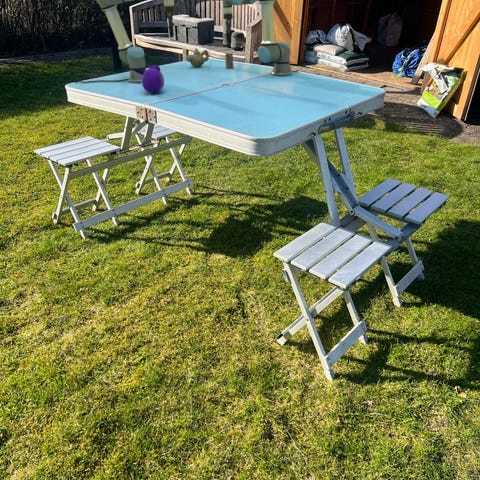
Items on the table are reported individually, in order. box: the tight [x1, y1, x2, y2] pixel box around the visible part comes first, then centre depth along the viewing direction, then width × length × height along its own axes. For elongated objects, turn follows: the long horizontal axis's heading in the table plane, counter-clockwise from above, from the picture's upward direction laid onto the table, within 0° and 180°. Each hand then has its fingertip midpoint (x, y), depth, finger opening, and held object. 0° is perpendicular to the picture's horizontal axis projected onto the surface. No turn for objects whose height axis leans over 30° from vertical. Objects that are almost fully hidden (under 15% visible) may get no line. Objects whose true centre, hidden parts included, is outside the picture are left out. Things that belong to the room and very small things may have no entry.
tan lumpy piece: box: [185, 48, 210, 68], centre depth 384 cm, size 21×12×15 cm, turn 120°
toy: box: [134, 64, 165, 94], centre depth 304 cm, size 16×18×27 cm
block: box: [224, 52, 234, 70], centre depth 378 cm, size 6×5×12 cm
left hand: (171, 36), depth 353 cm, fingers open, 13 cm apart
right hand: (229, 42), depth 370 cm, fingers open, 13 cm apart
